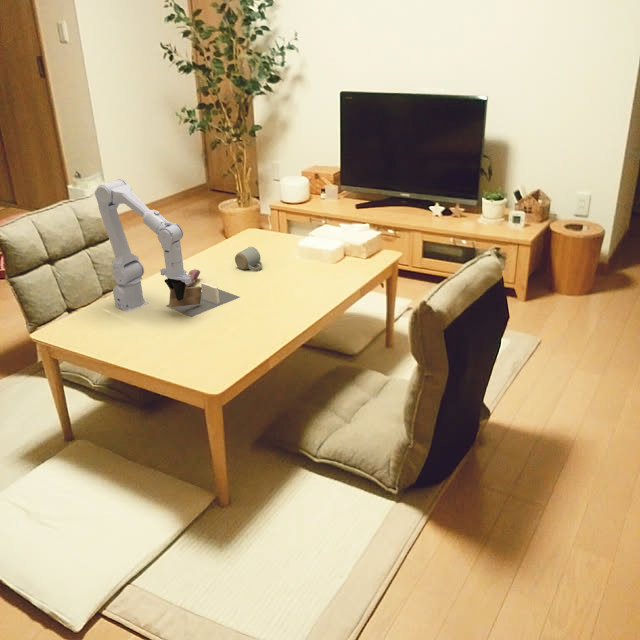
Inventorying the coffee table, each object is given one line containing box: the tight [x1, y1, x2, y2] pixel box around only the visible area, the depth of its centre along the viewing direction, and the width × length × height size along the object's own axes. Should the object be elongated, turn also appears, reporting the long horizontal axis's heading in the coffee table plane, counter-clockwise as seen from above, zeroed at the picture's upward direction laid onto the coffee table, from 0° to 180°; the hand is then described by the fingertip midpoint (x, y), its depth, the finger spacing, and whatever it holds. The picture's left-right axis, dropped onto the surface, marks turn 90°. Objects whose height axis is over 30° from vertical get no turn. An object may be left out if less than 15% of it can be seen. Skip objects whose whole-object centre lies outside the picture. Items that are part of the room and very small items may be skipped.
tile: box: [200, 282, 220, 304], centre depth 236 cm, size 1×8×6 cm, turn 48°
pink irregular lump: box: [185, 268, 201, 288], centre depth 253 cm, size 10×5×7 cm, turn 169°
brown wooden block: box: [168, 286, 202, 307], centre depth 228 cm, size 12×2×6 cm, turn 138°
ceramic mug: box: [234, 246, 263, 272], centre depth 267 cm, size 11×8×8 cm
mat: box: [165, 288, 241, 318], centre depth 237 cm, size 22×15×1 cm
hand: (178, 298), depth 226 cm, fingers closed on brown wooden block, 1 cm apart
